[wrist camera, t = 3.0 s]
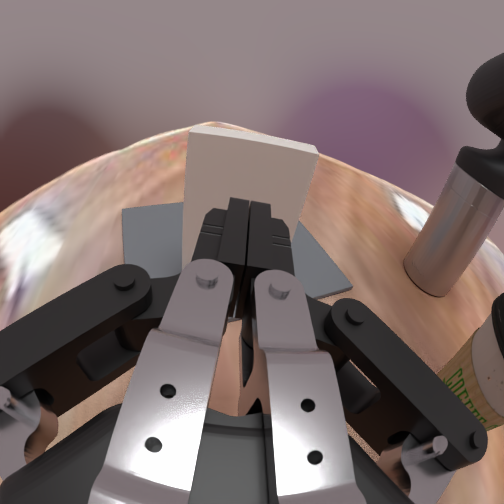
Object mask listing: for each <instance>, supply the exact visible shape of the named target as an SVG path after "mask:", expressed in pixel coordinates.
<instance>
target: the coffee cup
mask: <svg viewBox="0 0 504 504" xmlns="http://www.w3.org/2000/svg"><path fill="white" fill-rule="evenodd" d="M437 376H438V377H439V378H440V379H441V380H442V381H443V382H444V383H445V384H446V385H447V386H448V387H449V388H450V389H451V391H452V392H453V393H454V394H455V395H456V396H457V397H458V398H459V399H460V400H461V401H462V402H463V403H464V404H465V405H466V407H467V408H468V409H469V410H470V411H471V412H472V413H473V414H474V415H475V416H476V418H477V419H478V420H479V421H480V422H481V423H482V424H483V426H484V427H485V429H486V432H487V431H489V430H492V429H494V428H496V427H499V426H501V425H503V424H504V293H502V294H501V295H500V296H498V297H497V298H496V299H495V300H494V302H493V305H492V311H491V314H490V315H489V317H488V318H487V319H486V321H485V322H484V323H483V325H482V326H481V327H480V328H478V329H477V330H476V331H475V332H474V333H473V334H472V336H471V337H470V338H469V339H468V341H467V342H466V343H465V344H464V345H463V347H462V348H461V349H460V350H459V351H458V352H457V353H456V355H455V356H454V357H453V358H452V359H451V360H450V361H449V362H448V363H447V364H446V365H445V367H444V368H443V369H442V370H441V371H440V372H439V373H438V374H437Z"/></svg>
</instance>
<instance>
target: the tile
mask: <svg viewBox="0 0 504 504" xmlns="http://www.w3.org/2000/svg"><path fill="white" fill-rule="evenodd" d="M318 157H319V153H318V152H317V149H316V148H315V146H314V145H309V144H305V143H301V142H296V141H292V140H287V139H283V138H278V137H273V136H267V135H262V134H256V133H251V132H245V131H238V130H232V129H225V128H217V127H210V126H201V125H194V127H193V128H192V129H191V130H190V131H189V133H188V144H187V156H186V169H185V185H184V204H183V233H182V270H183V268H184V267H185V266H186V265H187V264H188V263H190V262H191V260H192V256H193V253H194V250H195V246H196V243H197V240H198V236H199V233H200V230H201V227H202V224H203V220H204V217H205V214H207V213H208V212H209V211H210V210H211V209H213V208H218V209H224V210H227V209H228V205H229V200H230V197H233V198H239V199H245V200H249V206H250V202H251V201H257V202H263V203H268V204H271V218H277V219H282V220H283V221H284V223H285V224H286V225H287V227H288V228H289V233H290V240H291V242H292V239H293V236H294V233H295V230H296V227H297V224H298V221H299V218H300V215H301V212H302V209H303V206H304V202H305V199H306V196H307V193H308V190H309V187H310V184H311V180H312V177H313V174H314V171H315V167H316V164H317V161H318Z"/></svg>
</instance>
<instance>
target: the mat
mask: <svg viewBox="0 0 504 504" xmlns="http://www.w3.org/2000/svg"><path fill="white" fill-rule="evenodd" d="M183 204H184V202H181V203H170V204H161V205H151V206H143V207H134V208H126V209H122V227H123V245H124V259H125V264H133V265H137V266H140V267H142V268H143V269H145V270H146V271H147V272H148V274H149V276H150V278H163V277H170V276H174V275H177V274H179V273H181V272H182V233H183ZM291 248H292V256H293V264H294V272H295V277H296V278H297V279H298V280H299V281H300V282H301V284H302V285H303V287H304V291H305V293H306V294H307V295H308V296H310V297H311V298H313V299H315V300H317V299H321V298H324V297H328V296H331V295H335V294H338V293H341V292H344V291H348V290H351V289H352V287H353V285H352V284H351V283H350V281H349V280H348V279H347V278H346V276H345V275H344V274H343V273H342V271H341V270H340V269H339V268H338V266H337V265H336V264H335V263H334V261H333V260H332V259H331V258H330V257H329V255H328V254H327V253H326V252H325V250H324V249H323V248H322V247H321V246H320V244H319V243H318V242H317V241H316V240H315V238H314V237H313V236H312V235H311V234H310V233H309V231H308V230H307V229H306V228H305V227H304V226H303V224H302V223H301V222H300V221H298V224H297V227H296V230H295V233H294V236H293V239H292V242H291ZM235 310H236V306H235ZM235 310H234V314H233V318H231V317H229V318H228V322H232V321H236V320H240V319H239V318H235Z"/></svg>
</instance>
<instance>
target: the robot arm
mask: <svg viewBox="0 0 504 504" xmlns="http://www.w3.org/2000/svg"><path fill="white" fill-rule="evenodd" d="M466 101H467V106H468V108H469V111H470V113H471V114H472V116H473V117H474V118H475V119H476V120H477V121H478V122H479V123H480V124H482V125H483V126H484V127H486V128H487V129H489V130H490V131H491V132H493V133H494V134H496V135H497V136H498V137H500V138H501V141H500V143H499V145H498V146H497V147H496V148H494V149H490V150H483V149H477V148H473V147H469V146H465V147H462V148H461V150H460V152H459V154H458V156H457V158H456V161H455V163H454V166H453V168H452V170H451V172H450V175H449V177H448V179H447V181H446V183H445V186H444V188H443V190H442V192H441V194H440V196H439V198H438V200H437V202H436V204H435V206H434V208H433V210H432V212H431V214H430V215H429V217H428V219H427V221H426V223H425V225H424V227H423V228H422V230H421V232H420V234H419V235H418V237H417V239H416V240H415V242H414V244H413V246H412V247H411V249H410V251H409V252H408V254H407V256H406V257H405V259H404V267H405V269H406V272H407V273H408V275H409V276H410V278H411V279H412V280H413V281H414V282H415V284H416V285H418V286H419V287H420V288H421V289H422V290H424V291H425V292H427V293H429V294H431V295H434V296H439V297H441V296H445V295H446V294H447V293H448V292H449V291H450V289H451V288H452V287H453V285H454V284H455V283H456V281H457V280H458V279H459V277H460V276H461V275H462V273H463V272H464V271H465V269H466V268H467V267H468V265H469V264H470V262H471V261H472V259H473V258H474V256H475V255H476V253H477V252H478V250H479V249H480V247H481V246H482V244H483V243H484V241H485V239H486V238H487V236H488V234H489V232H490V231H491V229H492V228H493V226H494V224H495V223H496V221H497V218H498V217H499V215H500V213H501V211H502V210H503V208H504V53H502V54H500V55H498V56H496V57H494V58H492V59H490V60H489V61H487V62H486V63H484V64H483V65H482V66H480V67H479V68H478V69H477V70H476V72H475V74H473V76H472V78H471V80H470V82H469V84H468V87H467V92H466ZM235 306H236V310H235ZM234 310H235V318H239V319H242V329H241V333H240V336H239V371H240V396H239V403H238V417H234V416H229V415H226V414H223V413H220V412H218V411H215V410H212V409H210V408H208V407H209V401H210V396H211V391H212V386H213V381H214V376H215V371H216V366H217V361H218V356H219V352H220V347H221V342H222V337H223V335H224V334H225V332H226V327H227V323H228V318H229V317H231V318H233V314H234ZM349 360H351V361H352V362H353V363H354V364H355V365H356V366H357V367H358V368H359V369H360V370H361V371H362V372H363V373H364V374H365V375H366V376H367V377H368V378H369V379H370V380H371V381H372V382H373V383H374V384H375V385H376V386H377V387H375V386H373V385H372V384H371V383H370V382H369V381H368V380H367V379H366V378H365V377H364V376H363V375H362V374H361V373H360V372H359V371H358V370H357V369H356V368H355V367H354V365H353V364H352V363H351V362H350V361H349ZM135 365H136V366H135ZM134 366H135V369H134V372H133V375H132V377H131V380H130V383H129V386H128V389H127V392H126V394H125V397H124V400H123V403H121V404H118V405H115V406H112V407H110V408H108V409H106V410H104V411H102V412H101V413H99V414H98V415H96V416H95V417H93V418H92V419H91V420H89V421H88V422H87V423H85V424H84V425H82V426H81V427H80V428H78V429H77V430H76V431H74V432H73V433H71V434H70V435H69V436H67V437H66V438H64V439H63V440H61V441H60V442H59V443H57V444H56V445H54V446H53V447H51V448H50V449H49V450H47V451H46V452H45V450H46V448H47V446H48V445H49V444H50V443H51V442H52V441H53V440H54V439H55V437H56V436H57V434H58V419H57V417H59V416H60V415H62V414H64V413H65V412H67V411H68V410H70V409H71V408H73V407H74V406H76V405H77V404H79V403H80V402H82V401H83V400H85V399H87V398H88V397H90V396H91V395H93V394H94V393H96V392H97V391H99V390H100V389H102V388H103V387H104V386H106V385H107V384H109V383H110V382H112V381H113V380H115V379H116V378H118V377H119V376H121V375H122V374H124V373H125V372H127V371H128V370H130V369H131V368H132V367H134ZM345 421H346V422H347V423H348V424H349V425H350V426H351V427H352V428H353V429H354V430H355V431H356V432H357V433H358V434H359V435H360V436H361V437H362V438H363V439H364V440H365V441H366V442H367V443H368V445H369V446H370V447H371V448H372V449H373V450H374V451H375V452H376V453H377V454H378V455H379V456H380V459H379V460H378V461H377V462H376V463H375V462H374V461H373V460H372V459H371V458H370V457H369V455H368V454H367V453H366V452H365V451H364V450H363V449H362V448H361V447H360V446H359V445H358V443H357V442H356V441H355V440H354V439H353V438H352V437H351V436H350V435H348V433H347V427H346V422H345ZM487 444H488V437H487V432H486V429H485V427H484V426H483V424H482V423H481V422H480V421H479V420H478V419H477V418H476V416H475V415H474V414H473V413H472V412H471V411H470V410H469V409H468V408H467V407H466V405H465V404H464V403H463V402H462V401H461V400H460V399H459V398H458V397H457V396H456V395H455V394H454V393H453V392H452V391H451V389H450V388H449V387H448V386H447V385H446V384H445V383H444V382H443V381H442V380H441V379H440V378H439V377H438V376H437V375H436V374H435V373H434V372H433V371H432V370H431V369H430V368H429V367H428V366H427V365H426V364H425V363H424V362H423V361H422V360H421V359H420V358H419V357H418V356H417V355H416V354H415V353H414V352H413V351H412V350H411V349H410V348H409V347H408V346H407V345H406V344H405V343H404V342H403V341H402V340H401V339H400V338H399V337H398V336H397V335H396V334H395V333H394V332H393V331H392V330H391V329H390V328H389V327H388V326H387V325H386V324H385V323H384V322H383V321H382V320H381V319H380V318H378V317H377V316H376V315H375V314H374V313H373V312H372V311H371V310H370V309H369V308H368V307H367V306H366V305H364V304H363V303H361V302H359V301H357V300H355V299H350V298H343V299H340V300H338V301H336V302H335V303H334V304H333V306H330V305H328V304H325V303H323V302H320V301H318V300H315V299H313V298H311V297H310V296H308V295H307V294H306V293H305V291H304V287H303V285H302V284H301V282H300V281H299V280H298V279H297V278H296V277H295V272H294V264H293V256H292V248H291V240H290V233H289V228H288V227H287V225H286V224H285V223H284V221H283V220H282V219H277V218H271V204H268V203H263V202H257V201H251V202H250V206H249V200H245V199H239V198H233V197H230V200H229V205H228V209H227V210H224V209H218V208H213V209H211V210H210V211H209V212H208V213H207V214H205V217H204V220H203V224H202V227H201V230H200V233H199V236H198V240H197V243H196V246H195V250H194V253H193V256H192V260H191V262H190V263H188V264H187V265H186V266H185V267H184V268H183V270H182V272H181V273H179V274H177V275H174V276H170V277H163V278H150V276H149V274H148V272H147V271H146V270H145V269H143V268H142V267H140V266H137V265H133V264H122V265H118V266H115V267H112V268H111V269H109V270H107V271H105V272H103V273H101V274H99V275H97V276H95V277H93V278H92V279H90V280H88V281H86V282H84V283H82V284H80V285H79V286H77V287H75V288H73V289H71V290H69V291H68V292H66V293H64V294H62V295H61V296H59V297H57V298H55V299H53V300H52V301H50V302H48V303H46V304H45V305H43V306H41V307H39V308H38V309H36V310H34V311H33V312H31V313H29V314H28V315H26V316H24V317H23V318H21V319H19V320H18V321H16V322H14V323H13V324H11V325H9V326H8V327H6V328H5V329H3V330H1V331H0V476H1V478H2V480H3V482H2V483H1V485H0V504H436V503H437V501H438V500H439V498H440V496H441V495H442V493H443V492H444V490H445V489H446V487H447V485H448V484H449V482H450V480H451V478H452V477H453V475H454V473H455V472H456V470H458V469H460V468H463V467H466V466H468V465H471V464H473V463H475V462H478V461H479V460H481V459H482V457H483V456H484V454H485V452H486V449H487Z"/></svg>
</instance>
